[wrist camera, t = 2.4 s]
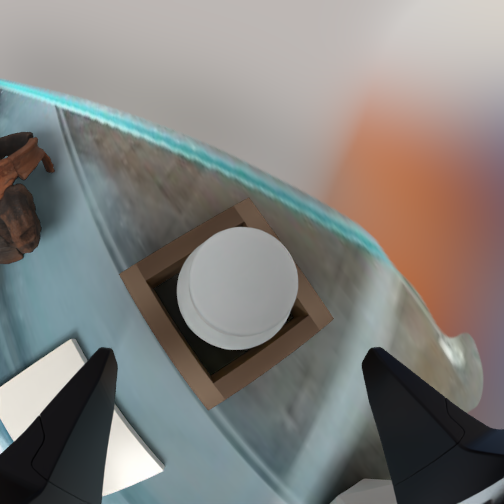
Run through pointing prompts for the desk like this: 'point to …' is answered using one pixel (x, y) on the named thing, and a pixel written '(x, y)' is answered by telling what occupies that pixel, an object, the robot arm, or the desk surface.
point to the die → (368, 493)
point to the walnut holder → (173, 342)
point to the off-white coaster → (41, 394)
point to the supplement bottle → (237, 288)
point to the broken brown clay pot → (18, 195)
